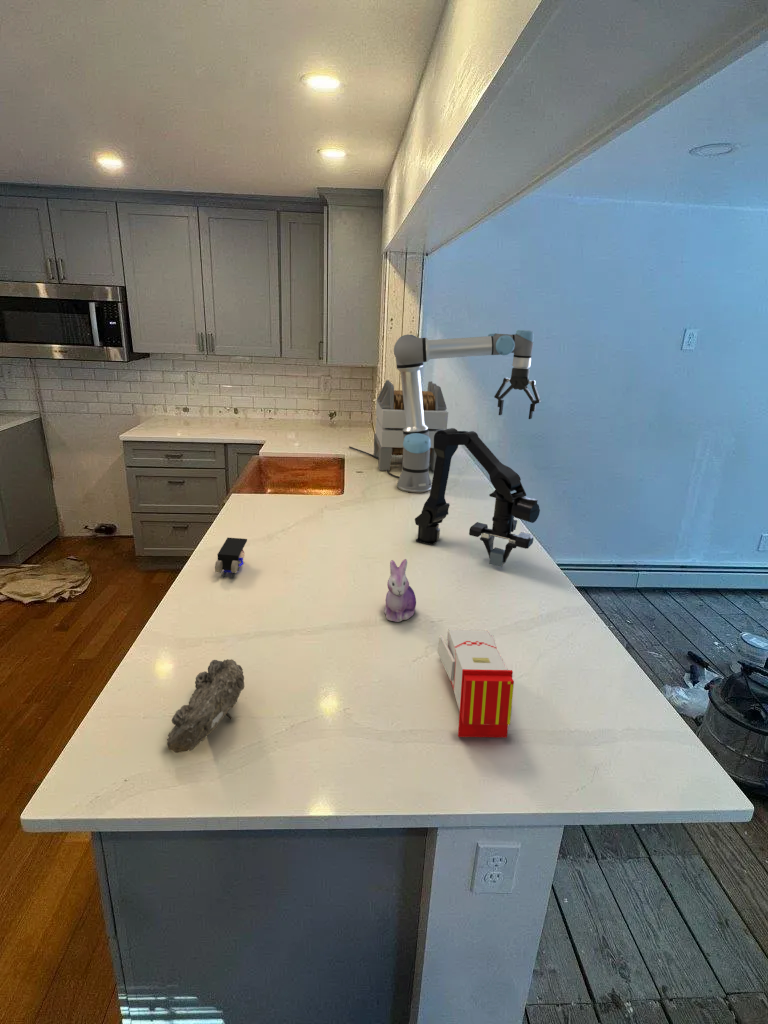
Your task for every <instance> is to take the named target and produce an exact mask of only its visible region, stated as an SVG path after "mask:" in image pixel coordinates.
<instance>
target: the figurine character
mask: <svg viewBox="0 0 768 1024" xmlns="http://www.w3.org/2000/svg"><path fill="white" fill-rule="evenodd" d="M247 542H248V538H240V537H226V539H225V541H224V543H223V544H222V546H221V547H220V549H219V551H218V552H217V560H216V562H215V564H214V572H215V573H221V577H222V578H224V577H225V576H226V574H227V573H230V574H231V573H232V574H231V578H234V577H235V575H236V573H237V572H239V571H240V567H242V566H243V565H244V564H245V562H244V558H245V551H244V547H245V546H246V544H247Z"/></svg>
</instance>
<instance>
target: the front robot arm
mask: <svg viewBox="0 0 768 1024" xmlns="http://www.w3.org/2000/svg"><path fill="white" fill-rule="evenodd" d="M459 446H464V447H465V448H466V449H467V450H468V451H469V453H471V455H472V457H474V458H475V459H476V461H477V462H478V463H479V464H480V466H481V467H482V468H483V469H484V470H485V471H486V472H487V474H488V475H489V480H490V483H491V485H492V486H493V488H494V489H495V490H494V491H492V492H491V493H489V497H491V498H495V501H494V510H493V511H494V512H493V516H492V518H491V520H492V528H489V526H488V523H487V524H486V523H481V522H479V521H476V522H475V523H474V524H473V525H471V526H470V527H469V532H468V535H469V536H471V537H475V538H479V537H480V538H479V541H482V543H483V545H484V548H485V549H486V552H487V555H488V557H489V559H490V552H491V551H492V550H493V549H494V541H495V537H496V538H499V539H503V540H508V542H507V543H506V545H505V548H504V550H505V553H504V563H505V562H506V563H507V560H508V558H509V557H510V555H511V552H512V551H513V549H517V548H521V549H526V550H527V549H529V548H530V547H531V546H532V545H533V543H534V536H533V534H532V533H531V534H530V533H526V532H522V531H521V532H519V534H514V531H516V530H517V529H516V528H517V525H518V520H522V521H525V522H527V523H531V524H534V523H535V522H536V521H537V520H538V519H539V516H540V513H541V509H540V504H538V499H536V498H530V497H527V492H526V490H525V488H524V486H523V484H522V482H521V480H522V479H521V476H520V474H519V473H517V472H516V471H515V470H514V469H512V468H511V467H510V466H507V465H505V464H504V463H502V461H500V460H499V459H498V457H497V456H496V455H495V454H494V453H493V452H492V451H491V449H490V448H489V447H488V446H487V445H486V443H484V441H483V440H482V439H481V438H480V437H479V434H478V433H477V432H476V431H473V430H470V431H467V430H458V429H456V428H454V427H451V428H447V429H444V430H439V431H437V432H436V433H435V435H434V450H435V453H436V461H435V467H434V471H433V475H432V481H431V490H430V491H429V496H428V498H427V499H426V501H425V502H424V504H423V507H422V510H421V513H420V514H419V515H418V516H416V517H415V518H414V523H415V525H416V526H418V527H417V538H416V539H415V542H417V543H421V544H425V545H430V546H435V544H436V543H437V542H438V541H439V540H440V532H441V528H439V526H440V524H442V523H443V520H445V519H446V517H447V516H448V515H449V508H450V506H451V505H450V503H448V502H447V501H446V498H445V497H446V490H447V486H448V480H449V476H450V475H449V474H450V467H451V463H452V458H453V456H454V454H455V453H456V452H457V450H458V448H459ZM514 491H515V492H514ZM512 492H513V493H512ZM517 519H518V520H517ZM506 563H505V564H506Z"/></svg>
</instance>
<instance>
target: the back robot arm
mask: <svg viewBox="0 0 768 1024" xmlns="http://www.w3.org/2000/svg"><path fill="white" fill-rule="evenodd" d="M534 337H535V332H534V330H530V329H517V330H516V332H515V333H513V334H508V333H488V334H487V335H486V336H472V337H471V336H469V337H457V338H441V339H439V338H438V339H428V337H417V336H416V335H414V334H403V335H401V336H400V337H399V338H398V339H397V340H396V342H395V344H394V346H393V355H394V357H395V364H396V370H398V371H399V372H400V381H401V390H402V392H403V402H404V413H405V423H406V426H405V427H404V429H403V438H404V441H403V455H402V465H401V466H402V467H401V472H400V475H399V476H398V475H395V474H393V473H391V472H390V471H388V470H387V471H386V473H387V474H388V475H390V476H391V477H394V478H397V479H398V480H397V483H396V488H397V489H398V490H399V491H401V492H405V493H411V494H425V493H428V492H430V491H431V485H432V481H431V477H430V476H431V475H430V473H429V472H430V471H429V470H430V466H429V464H430V463H429V457H430V447H431V440H430V438H429V431H428V426H426V425H425V423H424V411H423V399H422V391H423V388H422V377H421V376H422V375H421V369H422V368H423V367H424V363H428V362H429V361H430V360H437V359H439V360H440V359H453V358H467V357H468V358H470V357H482V356H483V357H485V356H508V355H510V354H513V356H512V357H513V358H512V364H511V365H512V368H511V373H510V374H511V375H510V378H509V377H508V376H507V377H503V379H502V383H501V384H500V387H499V388H498V390H497V391H496V392H495V394H494V396H493V397H494V399H496V400H497V408H498V416H502V415H503V411H504V401H505V400H504V398H505V397H506V396H507V395H508V394H509V393H510V392H511V391H512V390H518V391H522V390H523V392H524V393H525V394H526V396H527V397H528V398H529V400H530V402H531V403H530V405H529V411H528V412H529V413H528V420H532V419H533V414H534V412H535V411H536V408H537V404H540V403H541V402H542V399H541V397H540V393H539V391H538V387H537V381H536V380H535V379H534V380H530V371H531V369H530V368H531V363H532V356H533V355H532V354H533V348H534V341H535V340H534ZM508 383H509V384H510V385H509V387H508V388H507V389H505V387H506V386H507V384H508ZM528 386H531V390H532V392H533V394H532V392H531V391H530V388H529V387H528ZM504 389H505V390H504ZM503 391H504V392H503ZM348 448H349V449H351V450H355V451H358V452H360V453H363V454H366V455H368V456H370V457H373V458H375V459H377V460H378V461H379V457H376V456H374V455H373V454H372V453H370V452H368V451H367V452H366V451H364V450H361V449H358V448H355V447H353V446H350V445H349V446H348Z"/></svg>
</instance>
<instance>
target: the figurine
mask: <svg viewBox="0 0 768 1024" xmlns="http://www.w3.org/2000/svg"><path fill="white" fill-rule="evenodd" d="M407 567H408V559H406V558H404V559H403V560H402V561H401V563H400V565H399V566H398V565H397V563H396V562H395V561H394V560H393V559H391V560H390V561H389V570H390V576H389V578H388V579H387V589H388V591H387V592H386V594H385V595H386V596H385V607H384V615H385V616H386V620H387V621H391V622H395V623H400V622H402V621H406V620H409V619H410V618H411V617H413V616H414V615H415V610H416V606H417V597H416V593H415V591H414V590H413V587H411V586H410V582H409V579H408V577H407V574H406V571H407Z"/></svg>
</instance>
